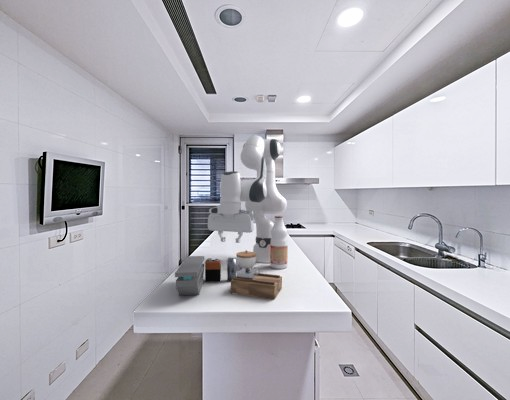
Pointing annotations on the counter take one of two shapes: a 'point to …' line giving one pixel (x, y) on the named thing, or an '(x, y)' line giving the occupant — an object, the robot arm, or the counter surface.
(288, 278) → the counter surface
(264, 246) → the robot arm
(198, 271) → the grey storage box
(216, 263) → the battery
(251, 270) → the square lid with knob
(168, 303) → the counter surface
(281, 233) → the fruit juice
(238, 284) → the socket block
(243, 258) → the lidded jar
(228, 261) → the grey rounded cylinder
